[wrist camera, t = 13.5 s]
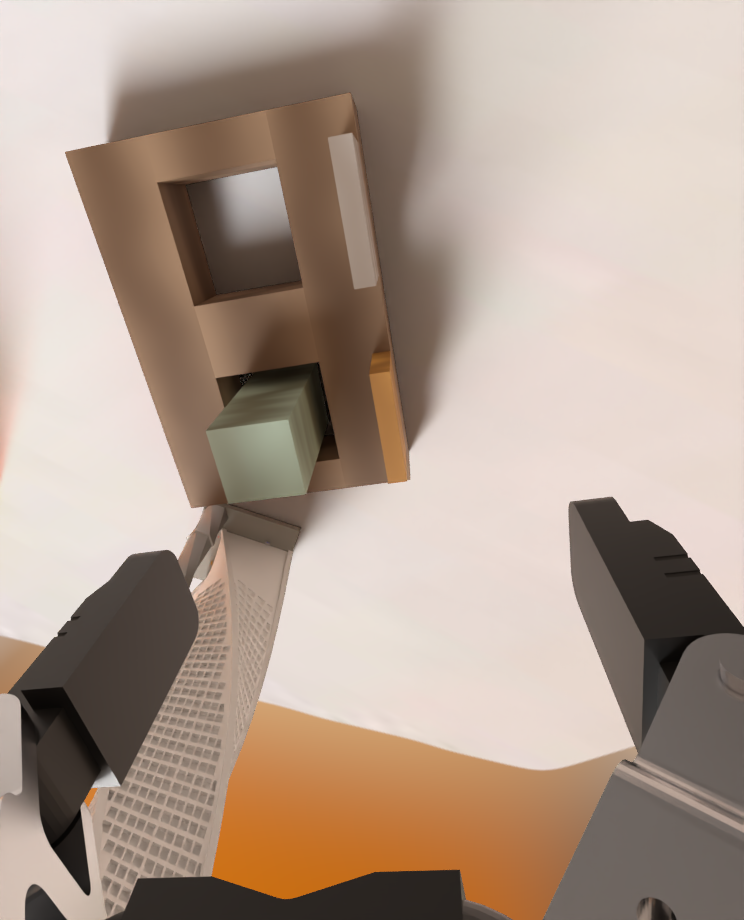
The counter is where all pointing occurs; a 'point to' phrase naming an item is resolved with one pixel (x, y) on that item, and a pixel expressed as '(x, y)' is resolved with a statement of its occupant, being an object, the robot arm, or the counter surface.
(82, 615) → the robot arm
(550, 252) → the counter surface
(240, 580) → the skyscraper
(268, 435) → the green plug
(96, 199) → the socket block
